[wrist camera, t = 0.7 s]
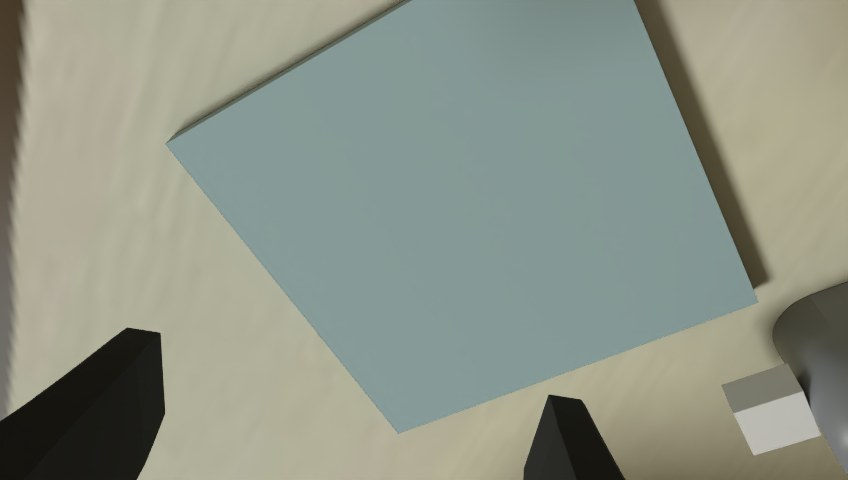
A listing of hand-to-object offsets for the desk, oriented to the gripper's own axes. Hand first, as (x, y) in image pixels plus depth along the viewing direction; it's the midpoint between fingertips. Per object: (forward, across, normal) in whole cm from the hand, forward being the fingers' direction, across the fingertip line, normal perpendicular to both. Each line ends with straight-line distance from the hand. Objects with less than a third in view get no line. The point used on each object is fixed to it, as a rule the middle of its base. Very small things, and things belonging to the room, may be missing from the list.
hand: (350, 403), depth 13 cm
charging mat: (+9, -2, +1) cm, 10 cm away
